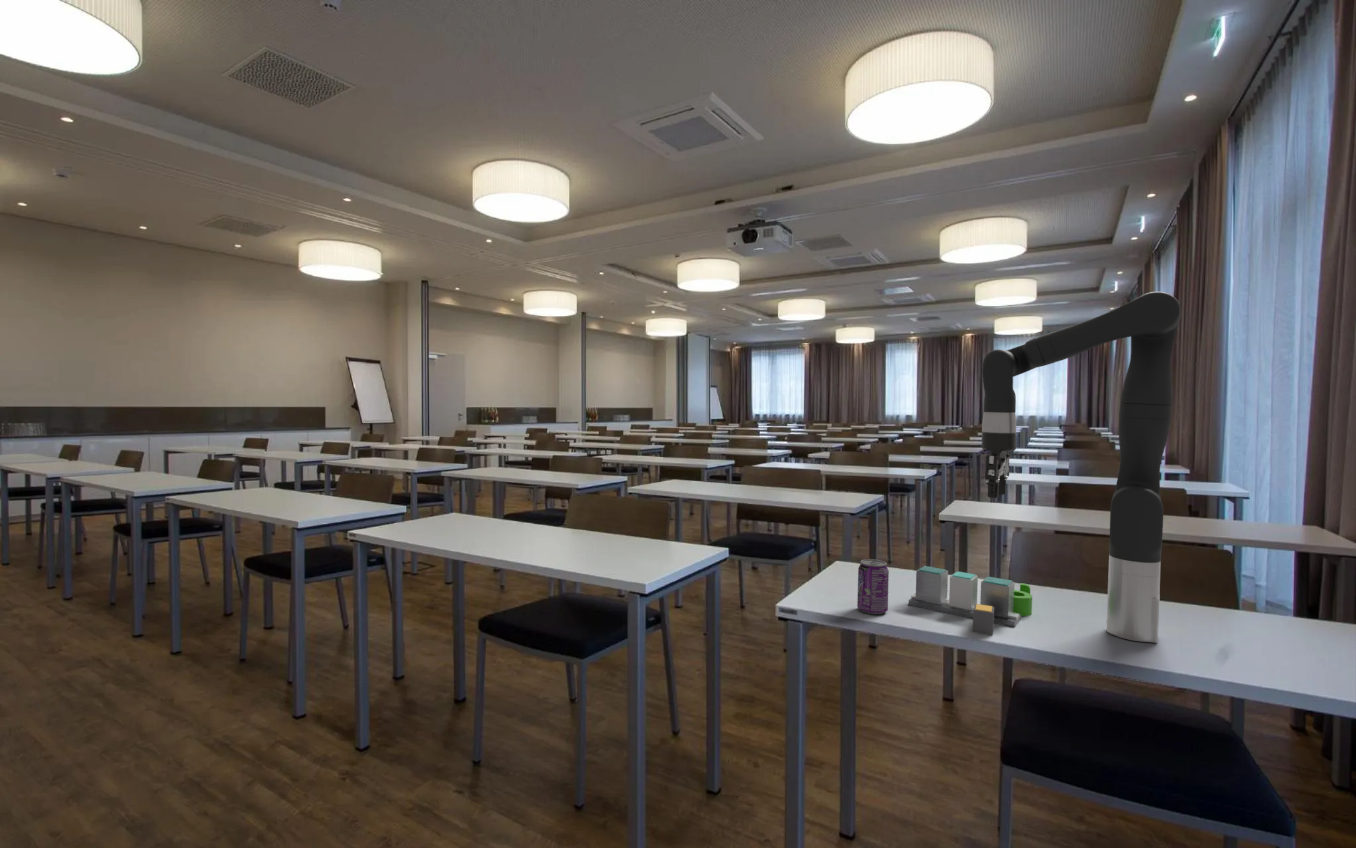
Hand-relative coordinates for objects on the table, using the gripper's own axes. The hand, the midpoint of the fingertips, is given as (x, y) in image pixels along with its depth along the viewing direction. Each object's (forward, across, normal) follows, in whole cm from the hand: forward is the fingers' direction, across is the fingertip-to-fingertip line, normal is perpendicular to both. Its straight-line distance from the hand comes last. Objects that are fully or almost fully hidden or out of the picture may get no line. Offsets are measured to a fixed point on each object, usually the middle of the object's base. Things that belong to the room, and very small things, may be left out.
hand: (996, 495), depth 155 cm
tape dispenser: (+29, +5, -4) cm, 29 cm away
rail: (+28, -8, +5) cm, 30 cm away
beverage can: (+28, -23, +22) cm, 43 cm away
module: (+26, -8, +5) cm, 28 cm away
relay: (+28, -19, -2) cm, 34 cm away
